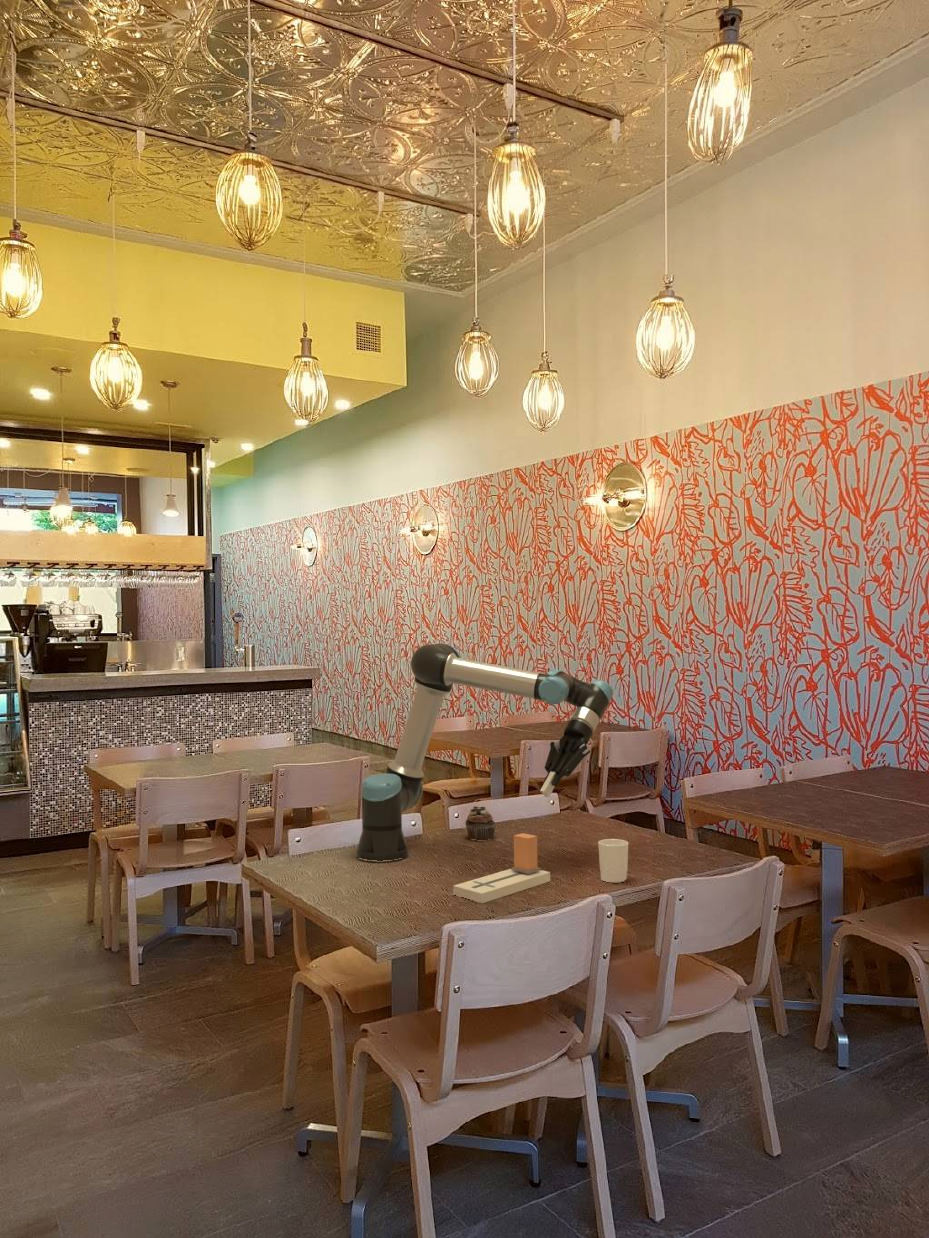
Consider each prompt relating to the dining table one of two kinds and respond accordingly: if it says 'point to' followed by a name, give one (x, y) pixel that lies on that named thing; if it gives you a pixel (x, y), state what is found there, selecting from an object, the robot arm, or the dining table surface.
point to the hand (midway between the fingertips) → (544, 793)
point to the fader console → (499, 885)
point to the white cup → (613, 859)
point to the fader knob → (525, 853)
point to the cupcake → (480, 824)
